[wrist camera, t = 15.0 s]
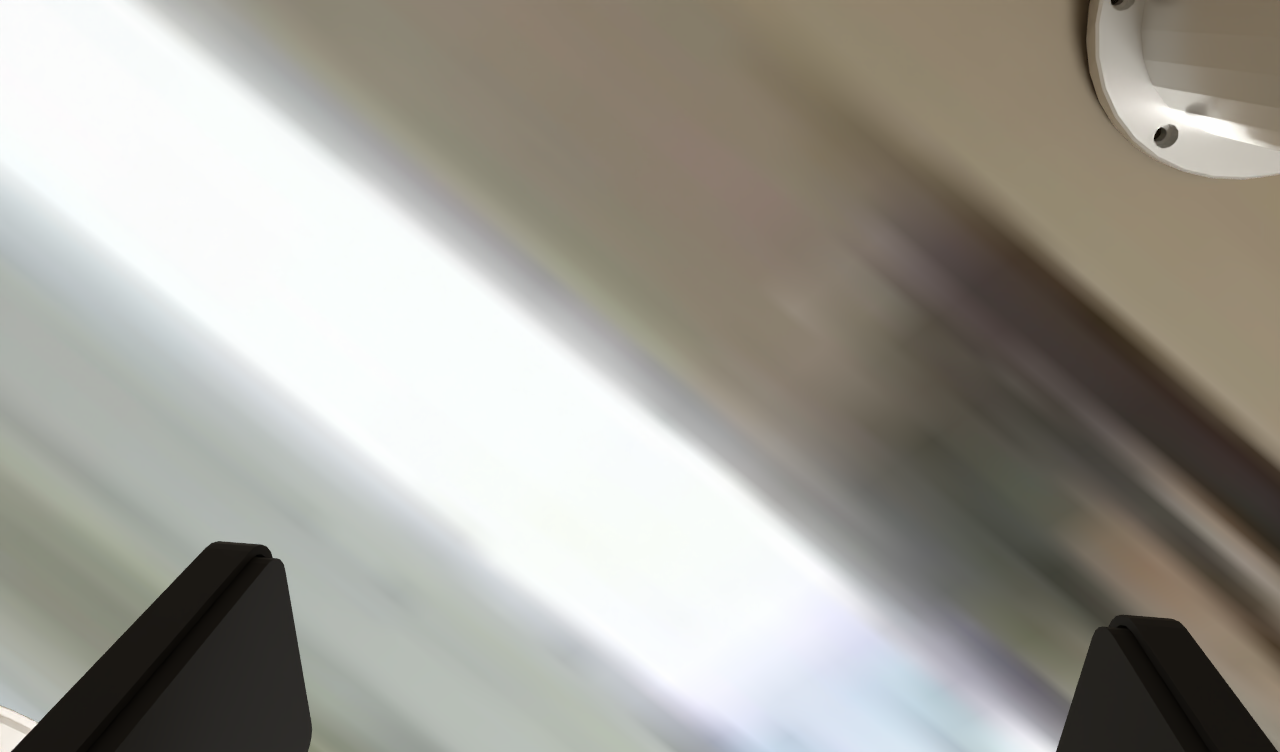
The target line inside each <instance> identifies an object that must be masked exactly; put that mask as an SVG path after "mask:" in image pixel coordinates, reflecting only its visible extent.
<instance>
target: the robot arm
mask: <svg viewBox="0 0 1280 752" xmlns="http://www.w3.org/2000/svg"><path fill="white" fill-rule="evenodd" d="M1086 44H1087V54H1088V63H1089V72H1090V75H1091V78H1092V81H1093V84H1094V88H1095V91H1096V94H1097V97H1098V100H1099V102H1100V104H1101V105H1102V107H1103V109H1104V110H1105V112H1106V114H1107V115H1108V117H1109V119H1110V120H1111V122H1112V124H1113V125H1114V127H1115V128H1116V129H1117V130H1118V131H1119V132H1120V133H1121V134H1122V135H1123V136H1124V137H1125V138H1126V139H1127V140H1128V141H1129V142H1130V143H1131V144H1132V145H1133V146H1134V147H1135V148H1137V149H1139V150H1140V151H1142V152H1143V153H1145V154H1147V155H1148V156H1150V157H1151V158H1153V159H1154V160H1156V161H1158V162H1160V163H1163V164H1166V165H1168V166H1171V167H1173V168H1176V169H1178V170H1180V171H1184V172H1188V173H1192V174H1196V175H1200V176H1204V177H1209V178H1218V179H1242V180H1245V179H1252V178H1259V177H1266V176H1274V175H1279V174H1280V0H1118V2H1117V3H1116V4H1114V5H1112V4H1111V0H1090V4H1089V12H1088V24H1087V35H1086ZM1159 128H1160V129H1161V134H1160V136H1159V137H1158V138H1157V139H1154V135H1155V133H1156V131H1157V130H1158V129H1159ZM311 735H312V724H311V718H310V712H309V706H308V700H307V695H306V689H305V683H304V677H303V671H302V666H301V660H300V654H299V648H298V642H297V636H296V631H295V625H294V619H293V613H292V607H291V601H290V596H289V590H288V584H287V578H286V572H285V568H284V564H283V563H282V561H281V560H280V559H277V558H272V554H271V552H270V550H269V549H268V548H267V547H266V546H264V545H259V544H246V543H234V542H222V541H218V542H214V543H211V544H210V545H209V546H208V547H206V548H205V549H204V550H203V551H202V552H201V553H200V554H199V555H198V557H197V558H196V559H195V560H194V561H193V562H192V563H191V564H190V565H189V566H188V567H187V568H186V569H185V570H184V571H183V572H182V573H181V574H180V575H179V576H178V577H177V578H176V580H175V581H174V582H173V583H172V584H171V585H170V586H169V587H168V588H167V589H166V590H165V591H164V592H163V593H162V594H161V595H160V596H159V597H158V598H157V599H156V600H155V601H154V603H153V604H152V605H151V606H150V607H149V608H148V609H147V610H146V611H145V612H144V613H143V614H142V615H141V616H140V617H139V618H138V619H137V620H136V621H135V622H134V623H133V624H132V625H131V627H130V628H129V629H128V630H127V631H126V632H125V633H124V634H123V635H122V636H121V637H120V638H119V639H118V640H117V641H116V642H115V643H114V644H113V645H112V646H111V647H110V648H109V650H108V651H107V652H106V653H105V654H104V655H103V656H102V657H101V658H100V659H99V660H98V661H97V662H96V663H95V664H94V665H93V666H92V667H91V668H90V669H89V670H88V671H87V673H86V674H85V675H84V676H83V677H82V678H81V679H80V680H79V681H78V682H77V683H76V684H75V685H74V686H73V687H72V688H71V689H70V690H69V691H68V692H67V693H66V694H65V695H64V697H63V698H62V699H61V700H60V701H59V702H58V703H57V704H56V705H55V706H54V707H53V708H52V709H51V710H50V711H49V712H48V713H47V714H46V715H45V716H44V717H43V718H42V720H41V721H40V722H39V723H38V724H37V725H36V726H35V727H34V728H33V729H32V730H31V731H30V732H29V733H28V734H27V735H26V736H25V737H24V738H23V739H22V740H21V741H20V743H19V744H18V745H17V746H16V747H15V748H14V749H13V750H12V751H11V752H308V749H309V746H310V741H311ZM1056 752H1278V751H1277V750H1276V749H1275V747H1274V746H1273V744H1272V743H1271V742H1270V740H1269V739H1268V738H1267V736H1266V735H1265V734H1264V732H1263V731H1262V730H1261V728H1260V727H1259V726H1258V724H1257V723H1256V722H1255V720H1254V719H1253V718H1252V716H1251V715H1250V714H1249V712H1248V711H1247V710H1246V708H1245V707H1244V706H1243V704H1242V703H1241V702H1240V700H1239V699H1238V698H1237V696H1236V695H1235V694H1234V692H1233V691H1232V690H1231V688H1230V687H1229V686H1228V684H1227V683H1226V682H1225V680H1224V679H1223V678H1222V676H1221V675H1220V673H1219V672H1218V671H1217V669H1216V668H1215V667H1214V665H1213V664H1212V663H1211V661H1210V660H1209V659H1208V657H1207V656H1206V655H1205V653H1204V652H1203V651H1202V649H1201V648H1200V647H1199V645H1198V644H1197V643H1196V641H1195V640H1194V639H1193V637H1192V636H1191V635H1190V633H1189V632H1188V631H1187V629H1186V628H1185V627H1184V626H1183V625H1182V624H1181V623H1180V622H1179V621H1176V620H1174V619H1168V618H1156V617H1143V616H1131V615H1119V616H1116V617H1115V618H1114V619H1113V620H1112V621H1111V623H1110V625H1109V627H1099V628H1098V629H1097V630H1096V631H1095V633H1094V635H1093V637H1092V640H1091V643H1090V646H1089V650H1088V653H1087V656H1086V659H1085V662H1084V665H1083V669H1082V672H1081V675H1080V678H1079V681H1078V684H1077V687H1076V691H1075V694H1074V697H1073V700H1072V703H1071V706H1070V710H1069V713H1068V716H1067V719H1066V722H1065V725H1064V729H1063V732H1062V735H1061V738H1060V741H1059V744H1058V748H1057V751H1056Z"/></svg>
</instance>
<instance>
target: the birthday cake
mask: <svg viewBox="0 0 1280 752" xmlns="http://www.w3.org/2000/svg"><path fill="white" fill-rule="evenodd" d="M37 724H38V722H36V721H34V720H32V719H30V718H28V717H26V716H24V715H22V714H19V713H17V712H15V711H13V710H11V709H8V708H5V707H3V706H0V752H11V751H12V750H13V749H14V748H15V747H16V746H17V745H18V744H19V743H20V741H21V740H22V739H23V738H24V737H25V736H26V735H27V734H28V733H29V732H30V731H31V730H32V729H33V728H34V727H35V726H36V725H37Z"/></svg>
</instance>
